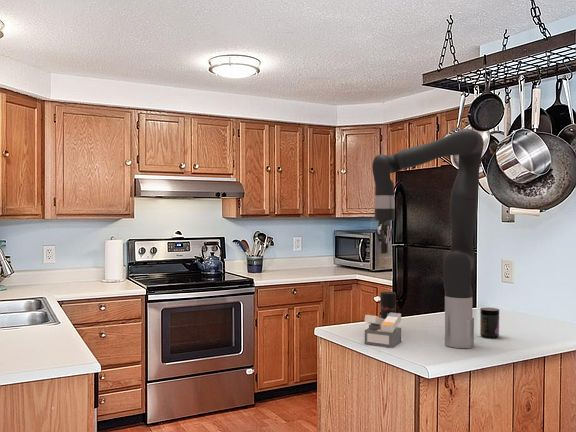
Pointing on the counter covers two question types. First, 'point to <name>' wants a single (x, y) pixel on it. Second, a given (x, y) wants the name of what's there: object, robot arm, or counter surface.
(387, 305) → the deodorant
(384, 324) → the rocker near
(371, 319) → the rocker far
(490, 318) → the supplement container
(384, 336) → the grey box
